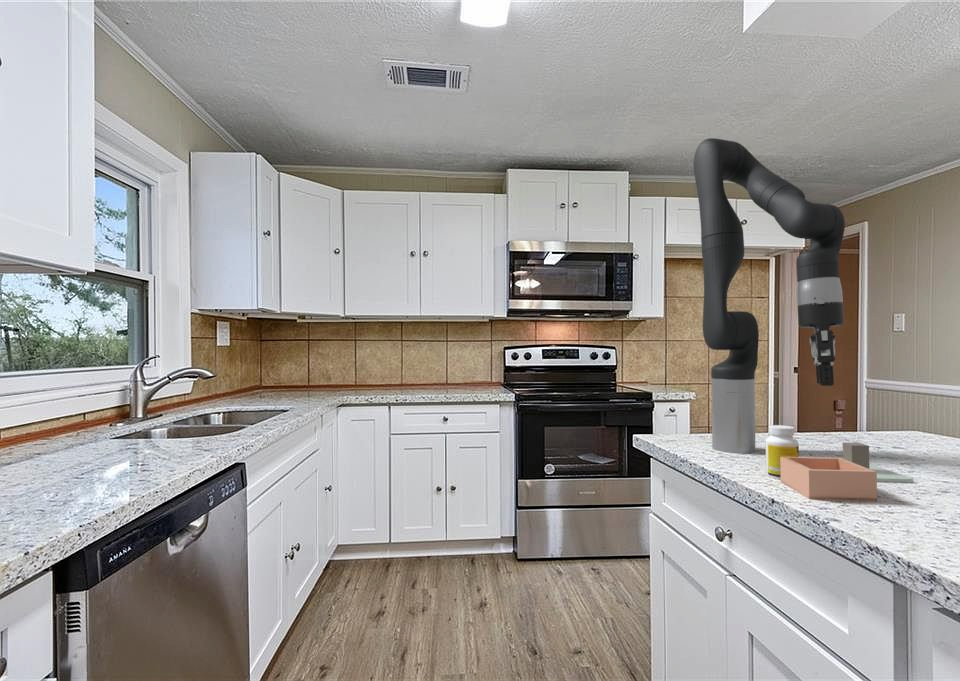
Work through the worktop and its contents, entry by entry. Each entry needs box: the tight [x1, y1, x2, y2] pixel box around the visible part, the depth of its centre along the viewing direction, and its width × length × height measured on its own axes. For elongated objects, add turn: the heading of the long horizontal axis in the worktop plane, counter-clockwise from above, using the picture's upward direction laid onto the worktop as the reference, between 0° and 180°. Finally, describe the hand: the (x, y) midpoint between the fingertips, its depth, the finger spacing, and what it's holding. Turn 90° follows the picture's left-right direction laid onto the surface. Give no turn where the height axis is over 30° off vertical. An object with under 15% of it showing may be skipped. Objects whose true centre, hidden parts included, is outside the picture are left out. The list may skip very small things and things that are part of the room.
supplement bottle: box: [765, 424, 800, 481], centre depth 95 cm, size 5×5×10 cm
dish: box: [780, 456, 878, 502], centre depth 85 cm, size 10×10×5 cm
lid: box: [842, 441, 914, 484], centre depth 96 cm, size 12×12×6 cm
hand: (825, 384), depth 98 cm, fingers open, 8 cm apart
